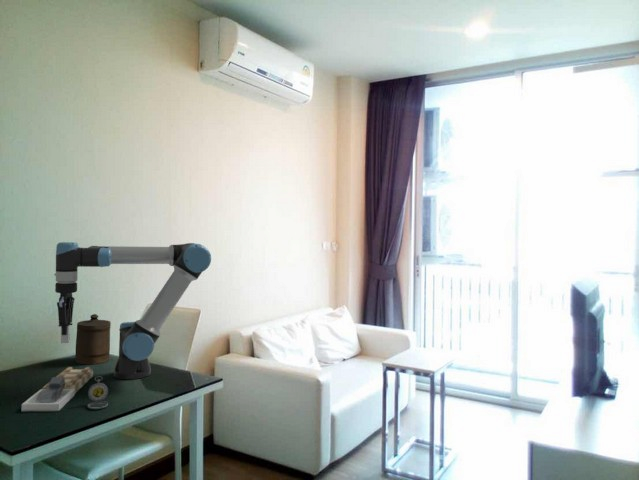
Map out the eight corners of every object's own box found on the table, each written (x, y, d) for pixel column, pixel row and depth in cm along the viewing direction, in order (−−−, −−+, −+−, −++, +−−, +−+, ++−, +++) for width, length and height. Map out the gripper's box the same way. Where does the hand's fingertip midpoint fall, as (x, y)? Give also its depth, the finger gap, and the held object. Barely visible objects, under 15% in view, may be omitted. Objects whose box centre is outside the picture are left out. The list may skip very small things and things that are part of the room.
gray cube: (53, 385, 185) (52, 377, 184) (65, 385, 185) (64, 376, 184) (49, 392, 181) (48, 383, 180) (61, 392, 182) (60, 383, 180)
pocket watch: (94, 411, 170) (95, 383, 170) (80, 406, 174) (81, 378, 174) (115, 405, 177) (116, 377, 177) (101, 400, 181) (102, 373, 181)
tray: (40, 395, 183) (40, 389, 183) (74, 395, 185) (74, 388, 185) (21, 411, 167) (21, 404, 167) (58, 411, 169) (59, 403, 169)
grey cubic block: (44, 390, 176) (39, 394, 172) (56, 390, 177) (51, 393, 173) (44, 401, 176) (39, 405, 172) (55, 401, 177) (51, 405, 173)
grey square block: (48, 397, 180) (49, 386, 180) (60, 397, 181) (60, 386, 181) (44, 401, 176) (44, 390, 176) (56, 401, 177) (56, 390, 177)
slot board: (65, 376, 207) (65, 366, 207) (92, 376, 209) (93, 366, 209) (42, 395, 183) (42, 384, 183) (73, 395, 185) (73, 384, 185)
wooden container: (114, 356, 240) (115, 312, 240) (101, 365, 226) (103, 317, 225) (84, 355, 240) (85, 311, 240) (69, 364, 225) (70, 316, 225)
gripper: (61, 280, 195) (60, 338, 195) (49, 283, 182) (48, 346, 183) (81, 280, 196) (80, 338, 197) (71, 284, 183) (70, 346, 184)
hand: (65, 342), depth 190 cm, fingers closed
